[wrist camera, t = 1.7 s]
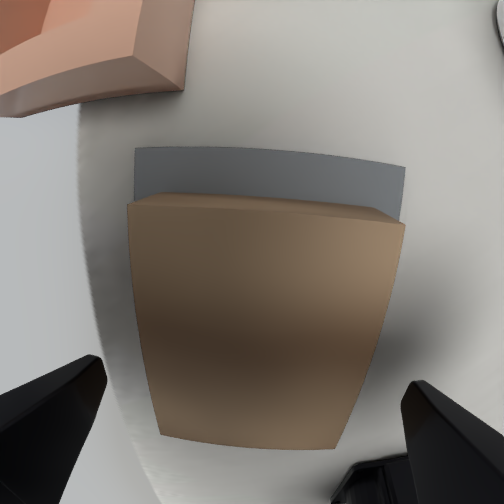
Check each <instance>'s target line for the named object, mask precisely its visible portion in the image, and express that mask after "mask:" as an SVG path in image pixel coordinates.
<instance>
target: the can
mask: <svg viewBox="0 0 504 504" xmlns="http://www.w3.org/2000/svg"><path fill="white" fill-rule="evenodd" d="M497 26H498V30H499V34H500V38H501V41H502V44H503V47H504V0H499V2H498V5H497Z"/></svg>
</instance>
